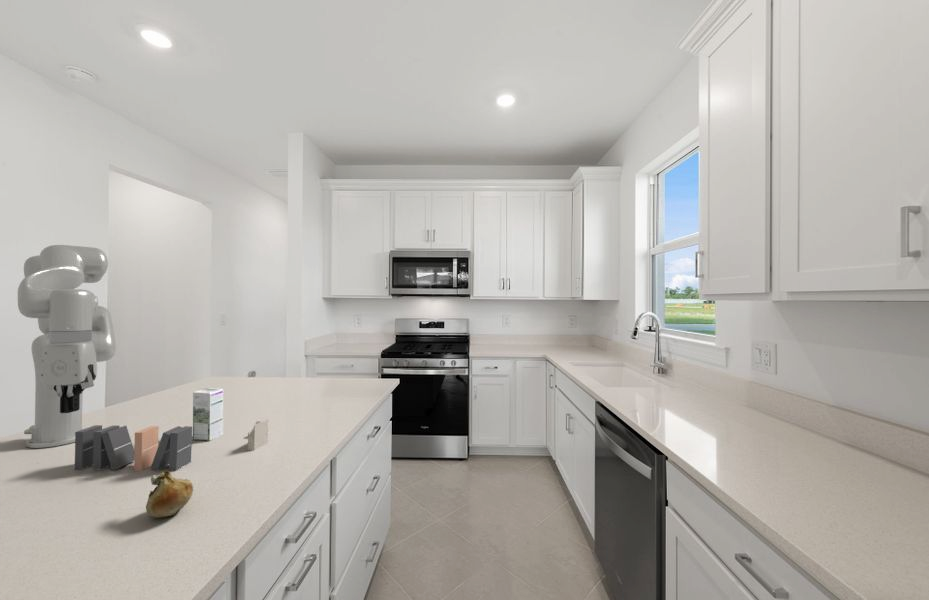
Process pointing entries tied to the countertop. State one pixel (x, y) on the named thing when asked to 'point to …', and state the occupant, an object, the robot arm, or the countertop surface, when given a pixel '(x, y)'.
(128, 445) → the domino
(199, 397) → the syrup box
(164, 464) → the domino
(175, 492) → the onion
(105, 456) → the domino
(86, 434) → the domino
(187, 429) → the domino
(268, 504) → the countertop surface
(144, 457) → the domino
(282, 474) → the countertop surface
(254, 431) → the architectural model
